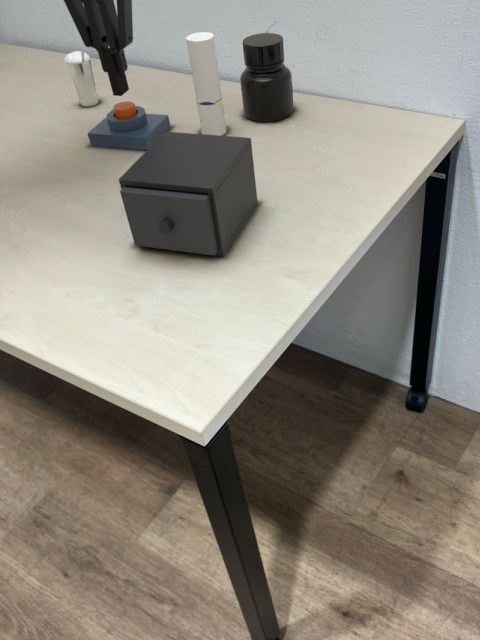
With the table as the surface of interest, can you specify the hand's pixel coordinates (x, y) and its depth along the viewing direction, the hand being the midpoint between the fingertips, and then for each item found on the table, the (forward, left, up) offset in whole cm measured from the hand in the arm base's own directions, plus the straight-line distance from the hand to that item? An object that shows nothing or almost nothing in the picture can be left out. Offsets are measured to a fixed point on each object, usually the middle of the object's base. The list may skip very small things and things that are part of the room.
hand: (121, 92), depth 101 cm
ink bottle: (+21, +13, -8) cm, 26 cm away
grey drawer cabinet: (+23, -24, -8) cm, 34 cm away
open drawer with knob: (+23, -26, -7) cm, 35 cm away
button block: (0, 0, -8) cm, 8 cm away
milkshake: (-15, +12, -8) cm, 21 cm away
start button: (0, 0, -4) cm, 4 cm away
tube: (+14, +4, -8) cm, 16 cm away
